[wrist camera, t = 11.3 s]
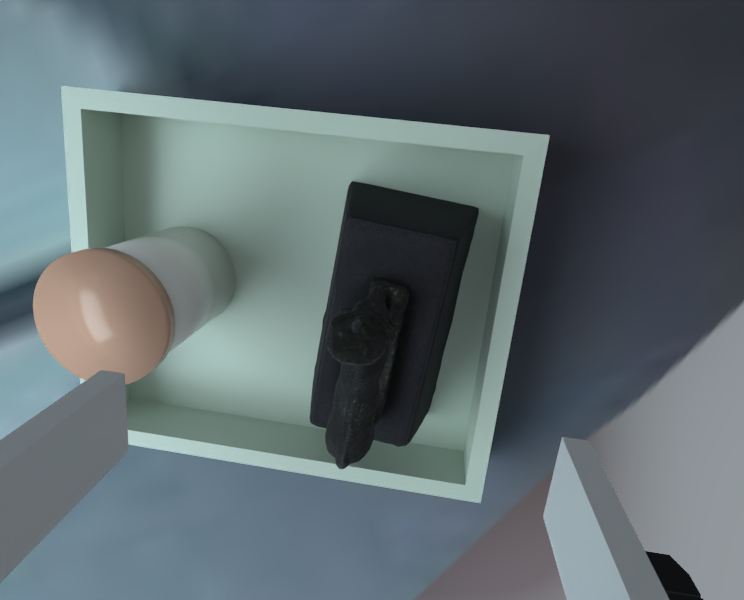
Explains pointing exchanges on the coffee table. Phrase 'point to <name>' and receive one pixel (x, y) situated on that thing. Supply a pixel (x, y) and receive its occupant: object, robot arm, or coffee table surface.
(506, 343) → the tote
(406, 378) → the sculpture
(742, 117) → the coffee table surface
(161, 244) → the jar
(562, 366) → the coffee table surface
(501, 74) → the coffee table surface
